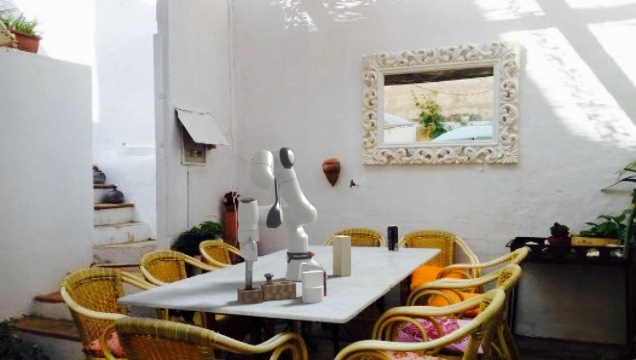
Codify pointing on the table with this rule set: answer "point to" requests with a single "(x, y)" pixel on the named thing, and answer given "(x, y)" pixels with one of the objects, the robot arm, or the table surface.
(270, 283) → the grey headed bolt
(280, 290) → the socket block
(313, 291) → the cylinder with rectangular tab
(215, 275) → the table surface
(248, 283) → the grey peg
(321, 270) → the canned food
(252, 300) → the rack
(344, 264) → the tall beige block
